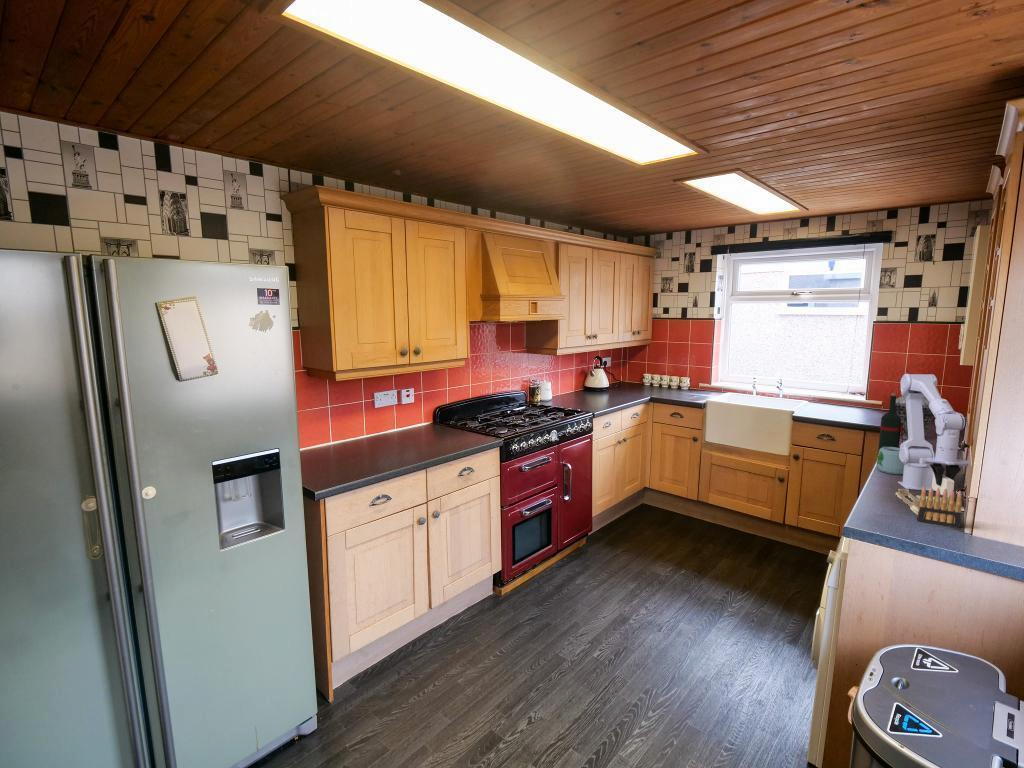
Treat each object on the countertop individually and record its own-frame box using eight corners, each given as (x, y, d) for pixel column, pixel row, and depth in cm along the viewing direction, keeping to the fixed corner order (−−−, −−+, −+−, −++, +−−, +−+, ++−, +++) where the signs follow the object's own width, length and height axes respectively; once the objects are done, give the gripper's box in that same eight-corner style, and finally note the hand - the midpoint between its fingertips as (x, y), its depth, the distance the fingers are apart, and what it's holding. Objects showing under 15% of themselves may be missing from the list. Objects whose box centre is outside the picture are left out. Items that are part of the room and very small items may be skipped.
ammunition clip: (959, 526, 163) (963, 490, 161) (960, 528, 161) (964, 492, 160) (916, 519, 169) (920, 484, 167) (917, 521, 167) (921, 486, 165)
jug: (897, 442, 267) (903, 385, 263) (880, 433, 286) (884, 380, 282) (943, 443, 263) (949, 385, 259) (922, 435, 281) (928, 380, 277)
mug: (866, 464, 229) (868, 443, 227) (894, 465, 227) (896, 443, 225) (884, 475, 214) (886, 452, 213) (913, 476, 212) (916, 453, 211)
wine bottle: (903, 459, 236) (909, 395, 231) (876, 455, 242) (882, 393, 238) (905, 456, 241) (911, 393, 237) (879, 452, 248) (884, 391, 244)
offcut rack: (912, 496, 190) (912, 488, 189) (939, 517, 170) (940, 508, 170) (893, 494, 191) (893, 487, 191) (917, 515, 172) (918, 506, 172)
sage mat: (948, 499, 186) (948, 497, 186) (968, 512, 174) (968, 511, 173) (915, 496, 189) (916, 495, 189) (932, 509, 177) (933, 508, 176)
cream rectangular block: (938, 488, 185) (939, 472, 185) (952, 497, 176) (954, 481, 175) (931, 488, 186) (933, 472, 185) (945, 497, 176) (947, 480, 176)
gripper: (927, 449, 177) (923, 486, 179) (978, 451, 172) (974, 490, 174) (918, 444, 183) (914, 480, 185) (967, 446, 179) (963, 484, 181)
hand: (943, 485), depth 180 cm, fingers closed on cream rectangular block, 2 cm apart
